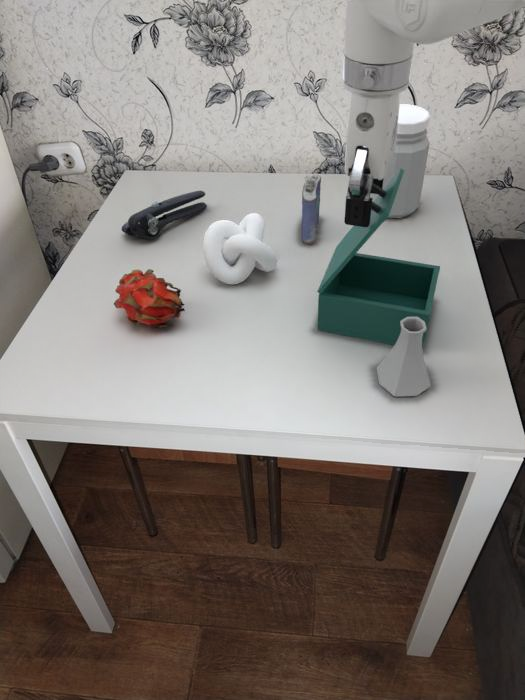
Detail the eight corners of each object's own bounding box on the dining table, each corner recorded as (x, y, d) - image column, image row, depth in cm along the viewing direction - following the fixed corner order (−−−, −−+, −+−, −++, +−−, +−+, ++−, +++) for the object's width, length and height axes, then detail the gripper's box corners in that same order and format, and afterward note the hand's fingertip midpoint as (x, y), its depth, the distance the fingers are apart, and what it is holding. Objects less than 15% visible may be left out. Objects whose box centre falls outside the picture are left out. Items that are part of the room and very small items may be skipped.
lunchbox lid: (404, 170, 79) (376, 150, 79) (389, 214, 72) (358, 193, 71) (339, 248, 91) (314, 232, 91) (320, 294, 84) (293, 276, 83)
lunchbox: (432, 301, 92) (440, 265, 88) (422, 350, 85) (430, 315, 80) (335, 284, 96) (337, 249, 92) (317, 330, 89) (318, 295, 84)
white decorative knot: (293, 264, 101) (293, 218, 95) (253, 302, 94) (251, 255, 88) (240, 244, 106) (236, 199, 99) (198, 279, 99) (191, 234, 92)
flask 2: (315, 245, 105) (316, 190, 97) (298, 244, 105) (298, 189, 98) (320, 217, 111) (322, 164, 104) (305, 216, 111) (305, 163, 104)
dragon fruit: (123, 309, 96) (186, 339, 93) (92, 312, 88) (159, 345, 85) (139, 260, 94) (203, 289, 91) (109, 259, 86) (178, 290, 83)
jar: (415, 223, 108) (431, 128, 96) (362, 216, 111) (371, 122, 98) (421, 197, 115) (437, 104, 102) (371, 191, 117) (381, 99, 105)
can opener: (140, 251, 105) (134, 224, 101) (119, 235, 109) (113, 208, 105) (218, 213, 113) (215, 187, 109) (196, 200, 117) (193, 174, 113)
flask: (440, 390, 79) (454, 336, 72) (391, 404, 78) (400, 350, 71) (414, 354, 84) (424, 300, 77) (367, 367, 83) (374, 313, 76)
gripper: (397, 103, 60) (379, 248, 72) (421, 47, 71) (402, 180, 84) (324, 97, 62) (319, 239, 74) (359, 43, 73) (350, 173, 85)
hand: (363, 207), depth 79 cm, fingers open, 7 cm apart
